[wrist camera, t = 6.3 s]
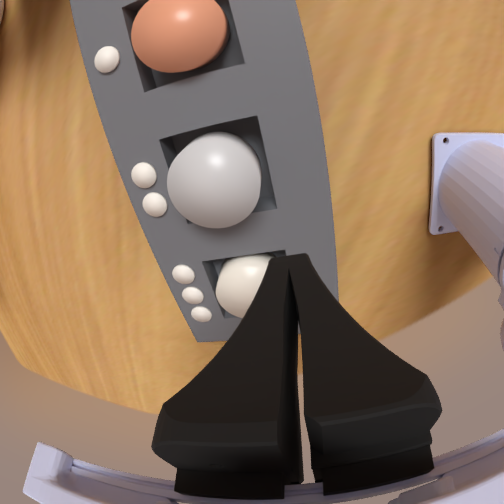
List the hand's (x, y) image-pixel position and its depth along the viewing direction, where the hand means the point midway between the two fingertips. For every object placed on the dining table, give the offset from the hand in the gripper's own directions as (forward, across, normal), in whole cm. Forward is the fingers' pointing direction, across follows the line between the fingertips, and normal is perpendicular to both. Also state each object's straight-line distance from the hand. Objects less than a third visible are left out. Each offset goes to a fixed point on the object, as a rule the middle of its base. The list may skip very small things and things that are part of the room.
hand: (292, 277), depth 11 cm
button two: (+8, +3, -2) cm, 9 cm away
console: (+10, +3, -2) cm, 11 cm away
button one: (+9, +3, -10) cm, 14 cm away
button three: (+9, +3, +7) cm, 12 cm away
